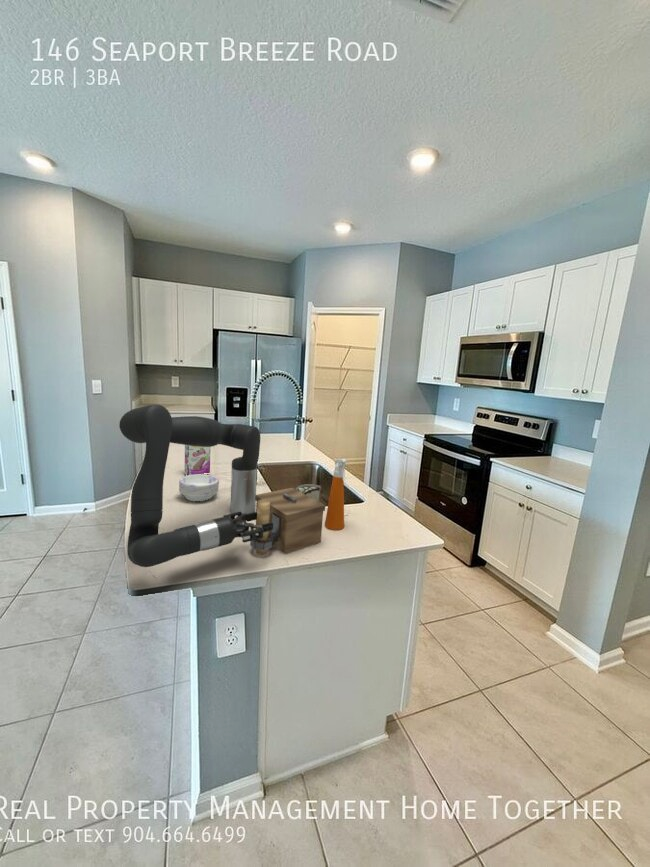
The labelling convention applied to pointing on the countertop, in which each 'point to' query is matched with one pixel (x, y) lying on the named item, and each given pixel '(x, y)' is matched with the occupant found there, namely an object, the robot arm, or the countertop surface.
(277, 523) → the hasp
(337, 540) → the countertop surface
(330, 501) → the spray bottle
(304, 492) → the food container
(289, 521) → the toolbox
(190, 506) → the countertop surface
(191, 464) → the candy bar box
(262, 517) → the tan wooden cylinder
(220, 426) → the robot arm
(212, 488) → the paper bowls
